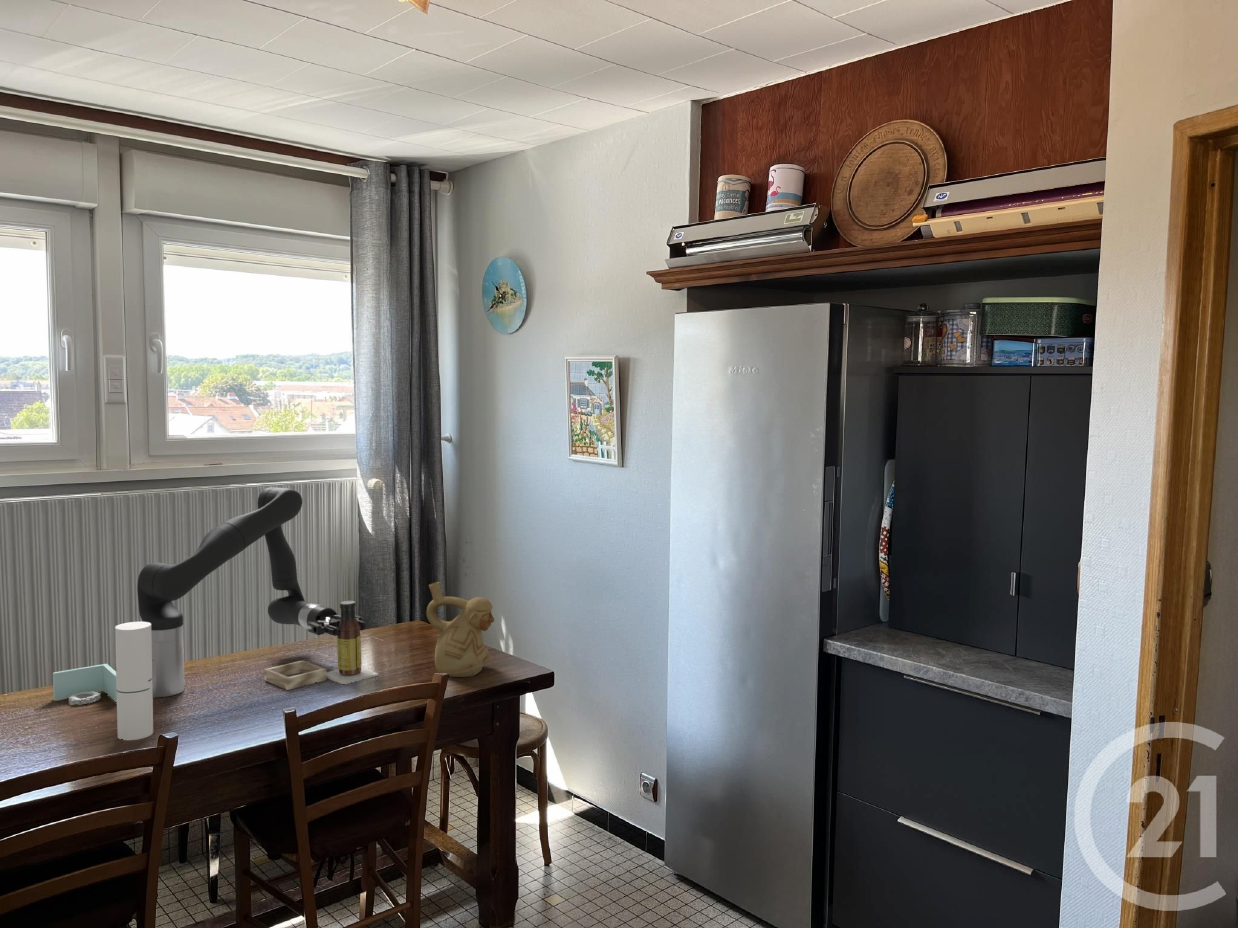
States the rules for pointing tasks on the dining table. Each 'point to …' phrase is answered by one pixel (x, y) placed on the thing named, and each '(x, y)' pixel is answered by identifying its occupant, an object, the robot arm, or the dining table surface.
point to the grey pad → (346, 679)
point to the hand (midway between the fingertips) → (350, 629)
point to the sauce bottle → (349, 641)
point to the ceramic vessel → (460, 634)
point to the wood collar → (282, 672)
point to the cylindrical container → (134, 680)
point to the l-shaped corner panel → (85, 684)
